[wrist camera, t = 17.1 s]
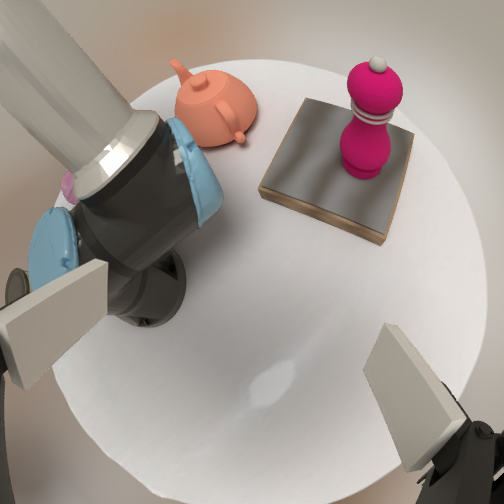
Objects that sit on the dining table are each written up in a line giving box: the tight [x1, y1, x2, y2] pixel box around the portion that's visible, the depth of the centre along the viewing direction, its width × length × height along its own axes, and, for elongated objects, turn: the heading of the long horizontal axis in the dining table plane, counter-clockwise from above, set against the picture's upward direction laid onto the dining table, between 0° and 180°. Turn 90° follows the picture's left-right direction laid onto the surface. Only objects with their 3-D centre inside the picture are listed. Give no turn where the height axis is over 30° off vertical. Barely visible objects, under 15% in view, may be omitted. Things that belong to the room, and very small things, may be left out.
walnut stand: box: [258, 98, 414, 246], centre depth 40 cm, size 20×20×4 cm
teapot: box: [170, 59, 257, 147], centre depth 45 cm, size 22×16×12 cm
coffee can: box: [5, 268, 33, 305], centre depth 44 cm, size 10×10×14 cm
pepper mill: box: [340, 56, 403, 180], centre depth 28 cm, size 7×7×20 cm
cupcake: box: [61, 171, 80, 205], centre depth 49 cm, size 9×9×10 cm
